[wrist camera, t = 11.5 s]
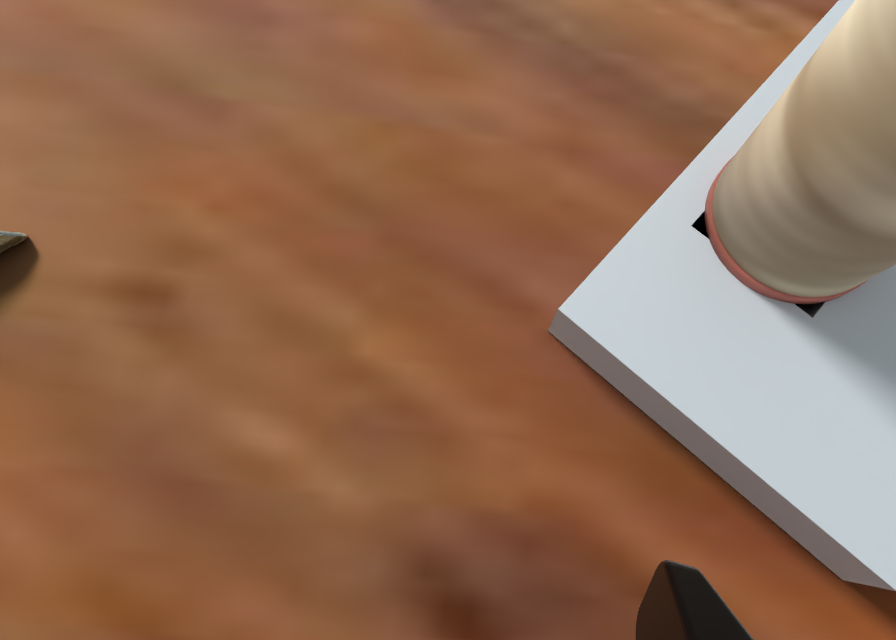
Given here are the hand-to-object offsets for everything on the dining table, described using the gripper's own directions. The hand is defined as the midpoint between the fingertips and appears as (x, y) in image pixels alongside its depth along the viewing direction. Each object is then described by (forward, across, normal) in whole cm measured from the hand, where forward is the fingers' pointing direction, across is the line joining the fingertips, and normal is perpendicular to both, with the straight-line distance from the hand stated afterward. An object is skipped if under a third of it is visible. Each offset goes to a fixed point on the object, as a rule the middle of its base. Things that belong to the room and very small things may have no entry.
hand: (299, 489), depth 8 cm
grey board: (+16, -12, 0) cm, 21 cm away
